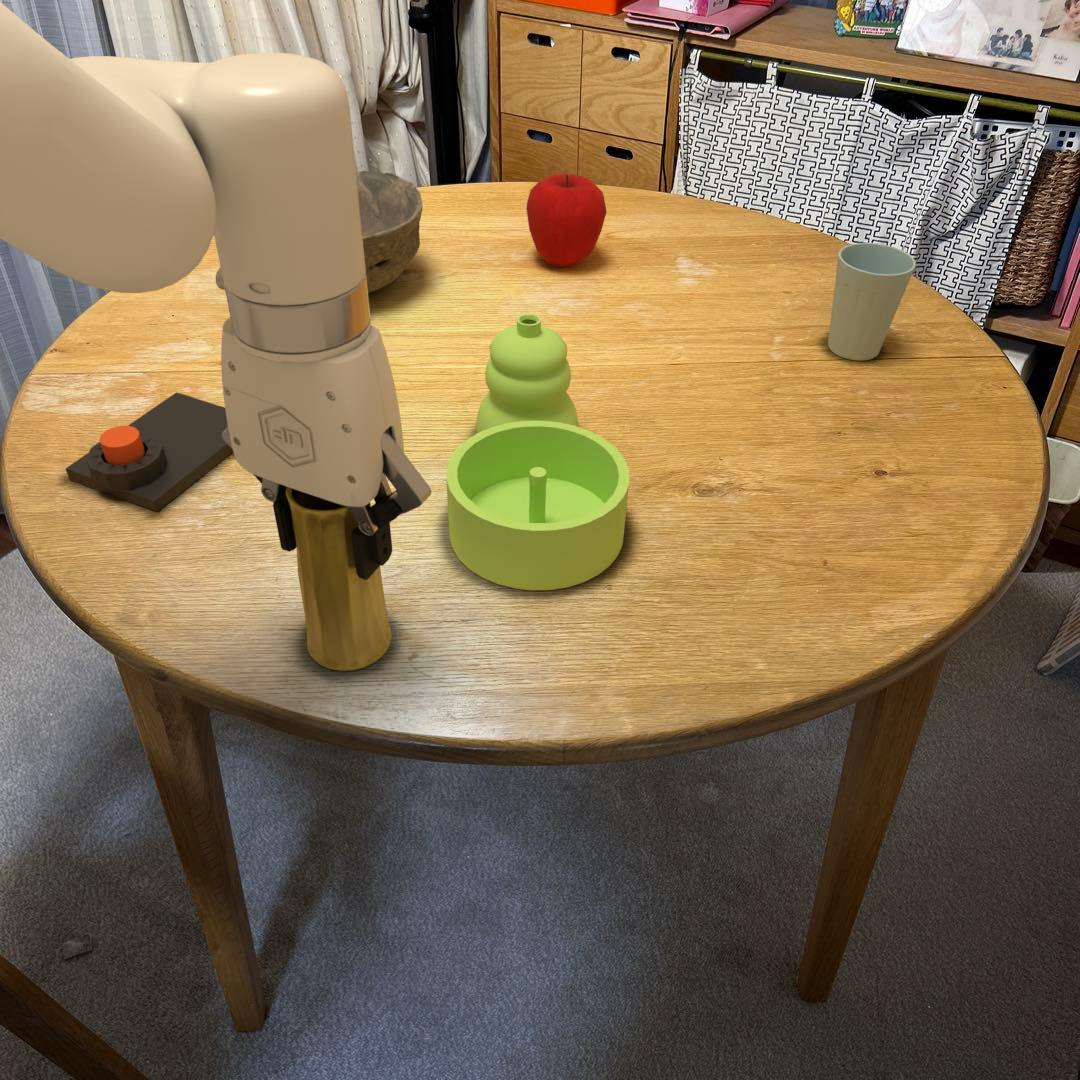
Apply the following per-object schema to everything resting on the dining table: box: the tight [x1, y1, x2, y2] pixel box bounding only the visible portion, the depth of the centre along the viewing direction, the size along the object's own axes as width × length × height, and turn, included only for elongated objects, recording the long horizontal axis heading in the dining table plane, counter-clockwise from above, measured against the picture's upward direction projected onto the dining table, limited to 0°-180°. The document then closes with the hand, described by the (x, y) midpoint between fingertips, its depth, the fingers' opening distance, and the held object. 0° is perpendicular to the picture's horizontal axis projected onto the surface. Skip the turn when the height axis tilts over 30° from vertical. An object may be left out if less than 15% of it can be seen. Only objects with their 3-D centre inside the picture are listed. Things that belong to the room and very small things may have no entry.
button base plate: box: [65, 392, 234, 513], centre depth 86 cm, size 15×10×3 cm
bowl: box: [356, 170, 424, 294], centre depth 111 cm, size 21×21×10 cm
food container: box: [445, 313, 631, 591], centre depth 80 cm, size 25×15×13 cm, turn 4°
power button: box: [99, 425, 145, 465], centre depth 82 cm, size 3×3×2 cm
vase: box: [286, 487, 393, 672], centre depth 66 cm, size 6×6×14 cm
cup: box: [827, 242, 917, 362], centre depth 102 cm, size 8×8×10 cm
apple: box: [526, 173, 608, 268], centre depth 116 cm, size 10×10×11 cm
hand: (336, 550), depth 65 cm, fingers closed on vase, 5 cm apart
